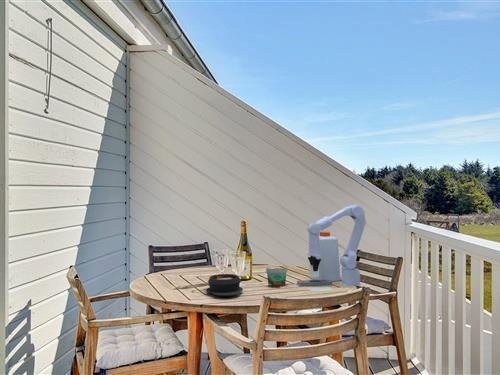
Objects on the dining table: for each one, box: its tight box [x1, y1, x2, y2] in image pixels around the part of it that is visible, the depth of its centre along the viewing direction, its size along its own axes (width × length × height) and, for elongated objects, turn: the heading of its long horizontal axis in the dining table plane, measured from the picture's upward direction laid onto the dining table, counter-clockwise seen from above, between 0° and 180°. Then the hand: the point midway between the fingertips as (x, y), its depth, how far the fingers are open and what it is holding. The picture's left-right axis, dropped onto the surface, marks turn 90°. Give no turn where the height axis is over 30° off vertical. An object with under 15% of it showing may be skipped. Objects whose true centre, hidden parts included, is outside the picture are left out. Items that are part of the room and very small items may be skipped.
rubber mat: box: [307, 286, 334, 292], centre depth 203 cm, size 12×8×1 cm, turn 98°
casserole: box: [205, 273, 244, 297], centre depth 197 cm, size 25×19×8 cm
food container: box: [265, 266, 289, 288], centre depth 211 cm, size 12×6×10 cm, turn 105°
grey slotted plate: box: [296, 279, 333, 288], centre depth 213 cm, size 18×6×3 cm, turn 98°
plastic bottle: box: [310, 231, 342, 282], centre depth 229 cm, size 15×15×28 cm
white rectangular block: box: [308, 264, 319, 278], centre depth 213 cm, size 4×3×6 cm, turn 99°
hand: (314, 270), depth 213 cm, fingers closed on white rectangular block, 3 cm apart
